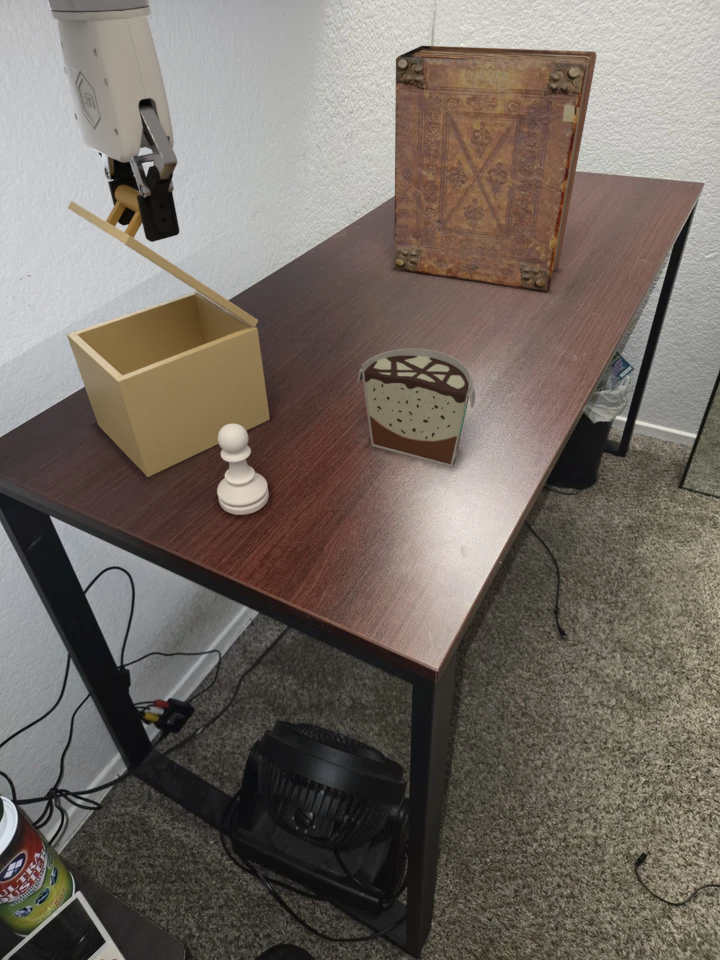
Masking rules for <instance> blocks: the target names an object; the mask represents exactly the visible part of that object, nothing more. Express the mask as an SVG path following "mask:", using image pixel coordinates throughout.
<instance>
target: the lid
mask: <svg viewBox="0 0 720 960" xmlns="http://www.w3.org/2000/svg"><path fill="white" fill-rule="evenodd" d="M138 195H141V193H140V192H139V191H137V190H135V189H133V188H131V187H129V186H127V185H120V186H118V187H117V188H116V190H115V198H116V200H117V202H116V204H115V206H114V205H113V208H112V209H111V211H110V213H109V214H108V216H107V219H106V220H105V219H103V218H101V217H100V216H98V215H97V214H94V213H93V212H91V211H90V210H88V209H86V208H85V207H83V206H81V205H80V204H78V203H77V202H74V201H73V200H71V201H70V203H69V205H68V207H67V209H68V210H70V211H71V212H73V213H74V214H75V215H78V216H79V217H81V218H82V219H83V220H86V221H87V222H89V223H90V224H91V225H93V226H95V227H97V228H98V229H100V230H101V231H103V232H104V233H106V234H107V235H109V236H110V237H112V238H114V239H115V240H116V241H118V242H120V243H122V244H123V245H124V246H126V247H128V248H129V249H131V250H132V251H134V252H135V253H137V254H138V255H140V256H142V257H143V258H144V259H147V260H148V261H150V262H151V263H153V264H155V266H158V267H159V268H161V270H164V271H165V272H167V273H168V274H170V275H171V276H173V277H174V278H175V279H178V280H179V281H180V282H183V283H184V284H185V285H187V286H189V287H190V288H192V289H193V290H194V291H198V292H200V293H201V294H203V295H204V296H206V297H208V298H209V299H211V300H212V301H214V302H216V303H217V304H219V305H220V306H222V307H224V308H225V309H227V310H228V311H230V312H232V313H233V314H235V315H236V316H238V317H240V318H241V319H243V320H244V321H246V322H248V323H249V324H251V325H252V326H254V327H257V325H258V323H259V319H258V318H255V317H254V316H253V315H251V314H250V313H248V312H247V311H245V310H244V309H242V308H241V307H239V306H237V305H236V304H235V303H233V302H231V301H230V300H229V299H227V298H226V297H224V296H223V295H221V294H219V293H218V292H217V291H215V290H213V289H212V288H210V287H209V286H207V285H205V284H204V283H202V282H201V281H199V280H198V279H197V278H195V277H194V276H192V275H190V274H189V273H188V272H186V271H184V270H183V269H181V268H180V267H178V266H177V265H175V264H174V263H173V262H171V261H169V260H168V259H166V258H164V257H163V256H162V255H160V254H158V253H157V252H155V251H154V250H152V249H151V248H149V247H148V246H146V245H145V244H143V243H142V242H140V241H139V240H137V239H136V238H135V236H136V235H137V233H138V231H139V230H140V228H141V226H142V225H143V223H142V219H141V214H140V210H139V205H138V201H137V197H136V196H138ZM126 207H127V208H129V209H131V210H133V211H135V212H136V213H135V214H134V216H133V218H132V220H131V222H130V223H129V225H127V226H126V228H125V230H124V231H123V230H121V229H119V228H118V227H117V224H118V220H119V219H120V217H121V215H122V213H123V211H124V210H125V208H126Z"/></svg>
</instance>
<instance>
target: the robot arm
mask: <svg viewBox="0 0 720 960" xmlns="http://www.w3.org/2000/svg"><path fill="white" fill-rule="evenodd" d="M47 2H48V3H47V4H48V6H49V7H48V8H49V9H50V15H51V18H52V19H53V20H56V26H57V31H58V40H59V47H60V54H61V59H62V64H63V68H64V69H63V70H64V73H65V79H66V83H67V88H68V92H69V93H68V94H69V97H70V101H71V106H72V111H73V116H74V120H75V124H76V128H77V133H78V136H79V138H80V140H81V142H82V144H84V145H85V146H87V147H88V148H90V149H92V150H93V151H96V152H98V156H100V157H101V159H102V167H103V172H104V175H105V178H106V179H107V180H108V181H107V183H108V188H109V191H110V196H111V200H112V204H113V207H114V206H115V204H116V202H117V200H116V198H115V190H116V188H117V187H118V186H120V185H127V186H129V187H131V188H133V189H135V190H137V191H139V192H140V193H141V195H138V196H136V197H137V201H138V205H139V210H140V214H141V219H142V227H143V233H144V237H145V239H146V240H147V241H148V242H151V243H153V242H157V241H162V240H165V239H169V238H173V237H176V236H178V235H179V234H180V226H179V221H178V214H177V210H176V204H175V199H174V193H173V191H174V190H175V189H174V188H175V187H174V182H173V177H174V171H175V169H176V167H177V165H178V159H177V155H176V153H175V151H174V144H175V141H174V132H173V130H174V129H173V125H172V124H173V123H172V118H171V112H170V107H169V102H168V97H167V92H166V87H165V83H164V79H163V74H162V71H161V66H160V61H159V58H158V53H157V50H156V46H155V42H154V38H153V33H152V32H151V27H150V24H149V22H148V17H147V16H150V15H151V14H152V13H151V6H150V0H47ZM143 148H147V149H149V150H151V153H146V154H142V155H140V150H141V149H143ZM148 163H149V164H150V163H152V164H153V165H152V166H149V167H148V170H147V174H146V172H145V169H144V168H145V167H144V165H145V164H148ZM135 213H136V212H135V211H133V210H131V209H129V208H127V207H126V208H125V210H124V211H123V213H122V215H121V217H120V219H119V220H118V222H117V224H120V225H121V226H123V227H125V226H128V225H129V223H130V222H131V220H132V218H133V216H134V214H135Z"/></svg>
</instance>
